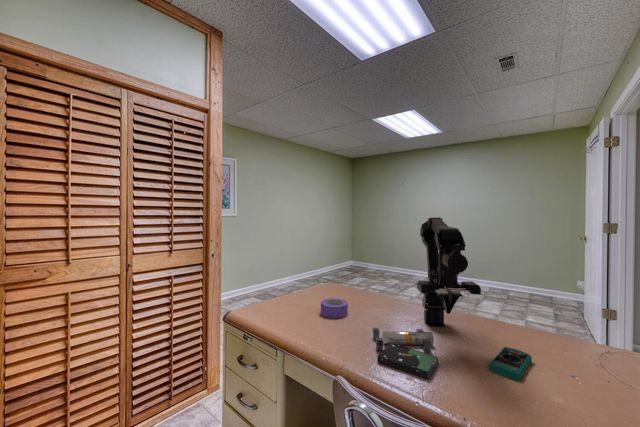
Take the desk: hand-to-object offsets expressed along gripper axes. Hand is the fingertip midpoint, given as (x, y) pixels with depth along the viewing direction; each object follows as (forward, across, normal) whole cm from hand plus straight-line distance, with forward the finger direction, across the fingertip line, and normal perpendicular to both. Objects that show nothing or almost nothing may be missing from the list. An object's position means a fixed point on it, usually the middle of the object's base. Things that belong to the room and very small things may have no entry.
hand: (447, 313), depth 93 cm
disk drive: (+12, +16, +12) cm, 23 cm away
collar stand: (+11, +16, 0) cm, 19 cm away
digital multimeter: (+12, -13, +11) cm, 21 cm away
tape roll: (+11, +38, -28) cm, 48 cm away
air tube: (+11, +13, 0) cm, 17 cm away
